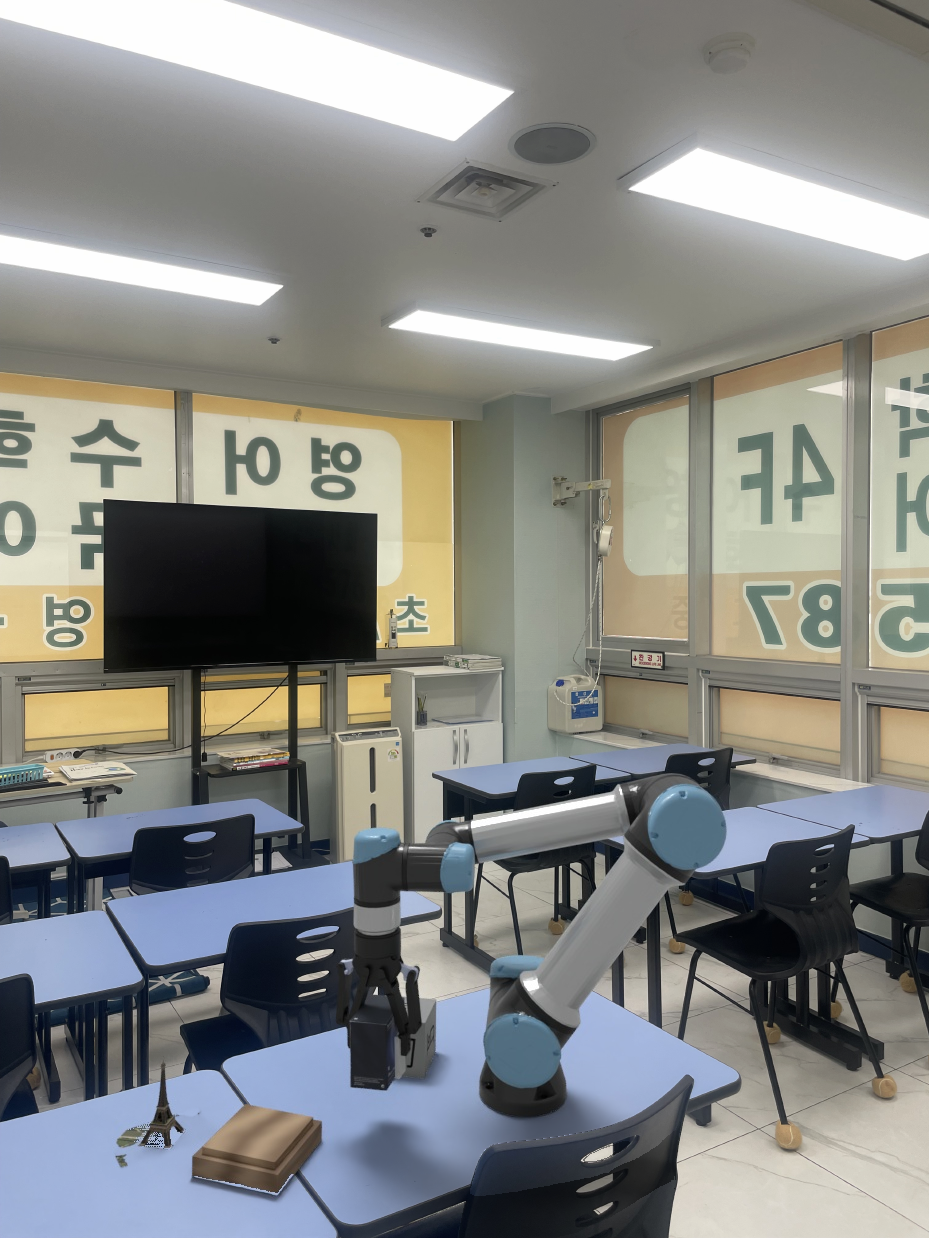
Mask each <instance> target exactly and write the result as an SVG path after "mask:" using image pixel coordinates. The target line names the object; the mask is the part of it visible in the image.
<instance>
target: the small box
mask: <svg viewBox="0 0 929 1238" xmlns="http://www.w3.org/2000/svg"><path fill="white" fill-rule="evenodd" d="M404 997H405V996H403V997H402V999H403V1002H404V1005H405V1001H404V999H405V998H404ZM397 1033H398V1029H397V1026H396V1023H395V1019H394V1016H393V1013H392V1010H391V1007H390V1004H389V1001H388V998H387V996H385V995H383V994H369V996H367V998H366V1000H365V1004H364V1005H363V1006H362V1007H361V1008H360V1009H359V1010H358V1011H357V1012H356V1014H355V1015H354V1016H353V1017H352V1019H351V1020H350V1048H349V1053H350V1054H349V1055H350V1056H349V1059H350V1069H349V1070H350V1076H349V1079H350V1081H349V1082H350V1083H349V1085H350V1086H349V1087H350V1088H354V1089H365V1090H373V1091H374V1090H375V1091H388V1090H389V1088H390V1086H391V1085H392V1082H393V1081H394V1080H395V1079H396V1078H395V1036H396V1035H397ZM405 1060H406V1056H405Z"/></svg>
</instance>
